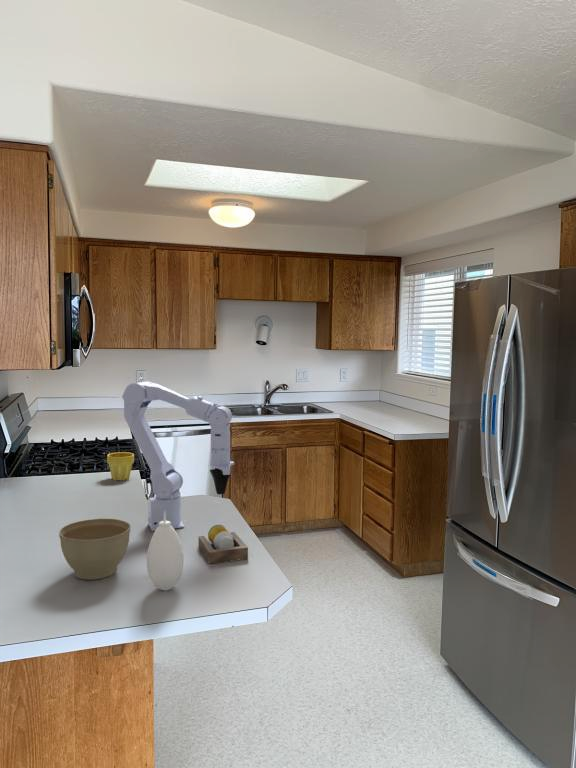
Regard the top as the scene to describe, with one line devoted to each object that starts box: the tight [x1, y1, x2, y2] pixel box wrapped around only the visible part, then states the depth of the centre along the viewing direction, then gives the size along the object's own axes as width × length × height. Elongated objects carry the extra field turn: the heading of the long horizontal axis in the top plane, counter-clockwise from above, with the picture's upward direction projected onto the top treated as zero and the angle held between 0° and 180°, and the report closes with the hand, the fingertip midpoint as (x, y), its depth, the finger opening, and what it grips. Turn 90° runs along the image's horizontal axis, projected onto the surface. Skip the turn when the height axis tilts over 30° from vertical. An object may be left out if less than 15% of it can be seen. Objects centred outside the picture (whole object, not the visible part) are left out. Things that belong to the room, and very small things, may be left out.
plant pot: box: [106, 451, 135, 481], centre depth 230 cm, size 10×10×10 cm
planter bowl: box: [58, 518, 131, 580], centre depth 139 cm, size 16×16×11 cm
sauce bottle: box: [146, 510, 184, 592], centre depth 130 cm, size 8×8×18 cm
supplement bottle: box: [207, 524, 234, 549], centre depth 155 cm, size 5×5×10 cm
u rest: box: [198, 531, 249, 565], centre depth 152 cm, size 10×12×3 cm
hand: (220, 493), depth 171 cm, fingers closed
